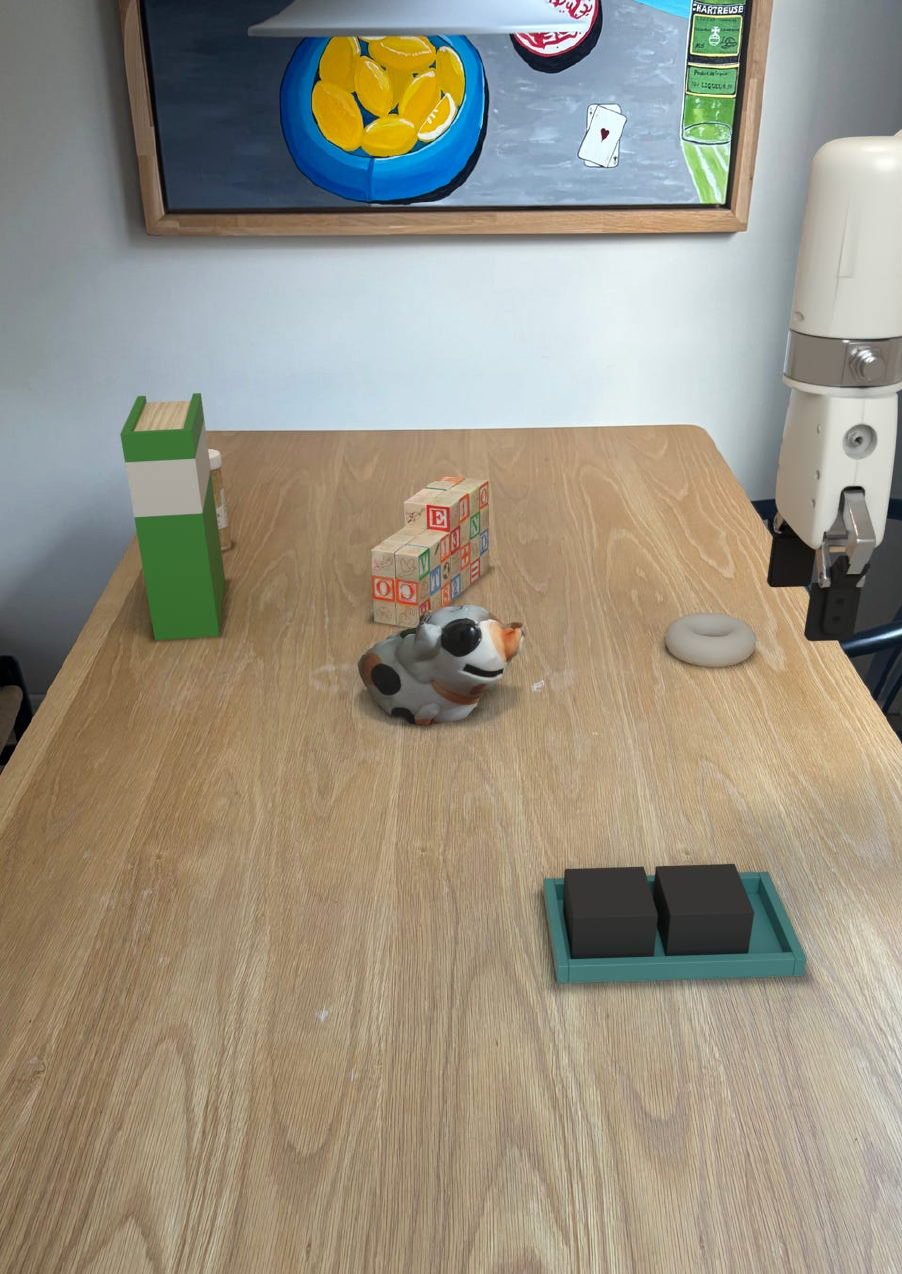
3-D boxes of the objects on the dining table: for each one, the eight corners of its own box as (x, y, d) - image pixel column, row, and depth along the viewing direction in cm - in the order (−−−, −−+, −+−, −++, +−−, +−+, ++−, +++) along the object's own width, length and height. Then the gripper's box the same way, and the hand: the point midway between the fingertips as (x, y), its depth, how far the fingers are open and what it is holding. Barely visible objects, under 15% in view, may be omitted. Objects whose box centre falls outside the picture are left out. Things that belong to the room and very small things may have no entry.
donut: (743, 680, 123) (762, 642, 131) (747, 650, 122) (766, 614, 129) (653, 665, 127) (676, 629, 135) (655, 636, 125) (679, 601, 133)
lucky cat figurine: (453, 661, 128) (511, 565, 119) (499, 741, 122) (563, 646, 113) (337, 657, 119) (390, 553, 110) (380, 743, 113) (440, 640, 105)
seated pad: (640, 908, 89) (643, 866, 87) (653, 958, 84) (658, 914, 81) (562, 910, 89) (564, 868, 87) (571, 961, 84) (573, 917, 81)
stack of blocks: (420, 632, 136) (416, 530, 129) (373, 624, 138) (367, 524, 131) (489, 570, 152) (489, 478, 145) (446, 564, 154) (444, 473, 148)
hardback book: (167, 587, 149) (137, 396, 137) (225, 583, 150) (200, 393, 137) (155, 642, 134) (120, 434, 122) (219, 638, 135) (191, 430, 122)
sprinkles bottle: (197, 555, 159) (183, 457, 152) (201, 544, 163) (187, 448, 156) (230, 553, 160) (218, 456, 152) (233, 542, 163) (221, 447, 156)
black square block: (729, 905, 89) (734, 863, 87) (748, 955, 84) (754, 912, 82) (651, 908, 89) (655, 865, 87) (665, 958, 84) (670, 914, 81)
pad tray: (764, 892, 91) (768, 871, 90) (802, 981, 82) (806, 958, 81) (542, 899, 91) (543, 878, 90) (556, 989, 82) (557, 966, 81)
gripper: (958, 389, 66) (902, 661, 75) (860, 333, 81) (823, 566, 90) (828, 392, 66) (787, 664, 75) (753, 336, 81) (727, 569, 90)
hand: (807, 610), depth 82 cm, fingers open, 9 cm apart
